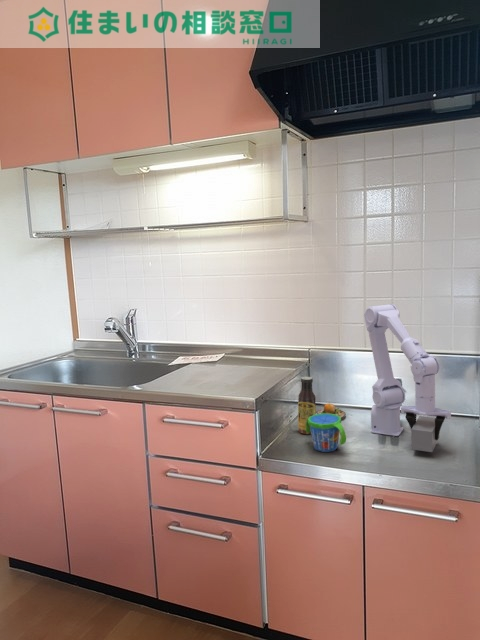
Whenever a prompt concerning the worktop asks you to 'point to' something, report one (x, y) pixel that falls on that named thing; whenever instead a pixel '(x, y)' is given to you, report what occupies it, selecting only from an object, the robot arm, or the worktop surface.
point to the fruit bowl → (332, 411)
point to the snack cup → (325, 431)
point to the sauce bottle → (305, 403)
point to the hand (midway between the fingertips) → (425, 437)
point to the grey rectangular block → (423, 434)
